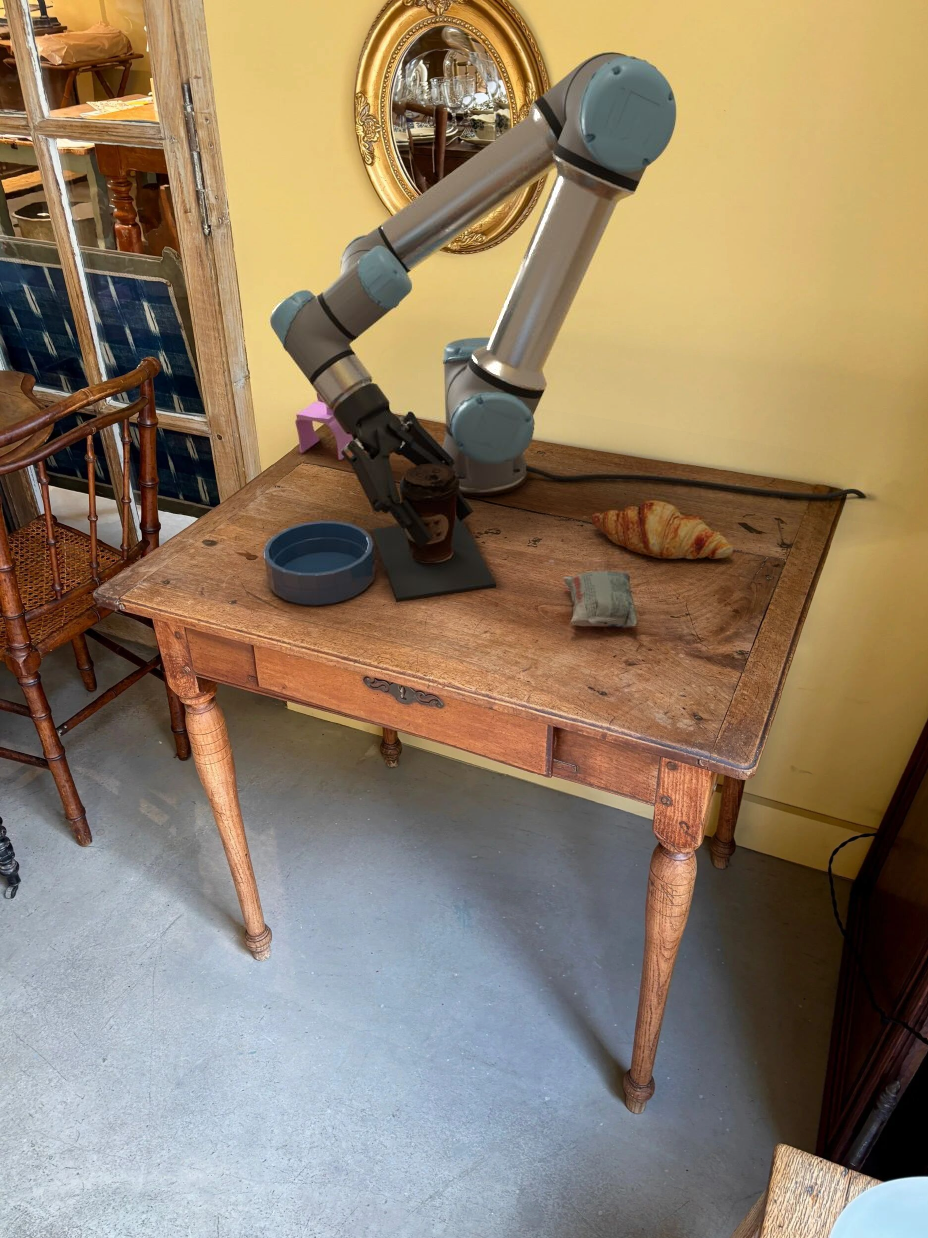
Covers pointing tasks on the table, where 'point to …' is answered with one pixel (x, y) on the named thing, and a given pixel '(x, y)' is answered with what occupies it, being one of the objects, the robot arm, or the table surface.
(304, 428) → the toy chair
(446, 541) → the coffee cup
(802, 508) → the table surface
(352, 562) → the bowl
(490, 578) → the mat
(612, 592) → the packaged food
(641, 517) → the croissant
